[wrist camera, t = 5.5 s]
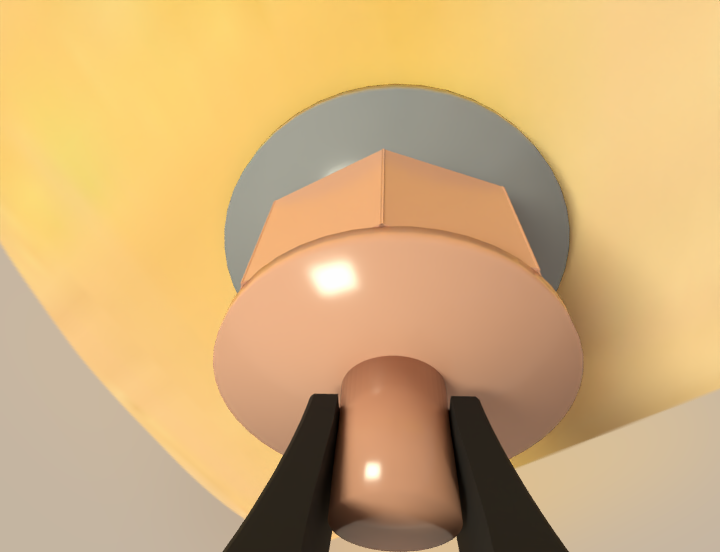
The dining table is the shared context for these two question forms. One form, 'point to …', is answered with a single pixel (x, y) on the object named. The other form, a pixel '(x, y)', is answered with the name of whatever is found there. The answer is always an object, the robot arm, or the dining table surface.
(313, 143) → the slate plate
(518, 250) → the lid with knob
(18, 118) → the dining table surface
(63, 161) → the dining table surface
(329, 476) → the robot arm
